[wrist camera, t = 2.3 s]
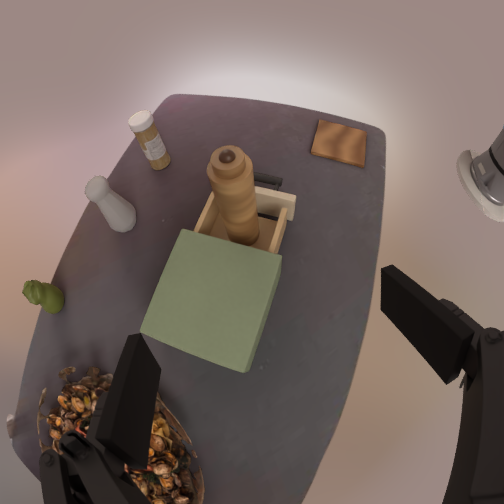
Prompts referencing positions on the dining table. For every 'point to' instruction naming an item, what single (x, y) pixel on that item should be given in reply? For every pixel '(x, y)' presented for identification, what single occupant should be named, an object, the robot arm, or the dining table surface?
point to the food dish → (161, 444)
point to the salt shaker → (111, 204)
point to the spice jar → (149, 139)
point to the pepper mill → (235, 193)
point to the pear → (44, 295)
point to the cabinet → (213, 299)
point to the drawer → (266, 204)
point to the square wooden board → (340, 143)
